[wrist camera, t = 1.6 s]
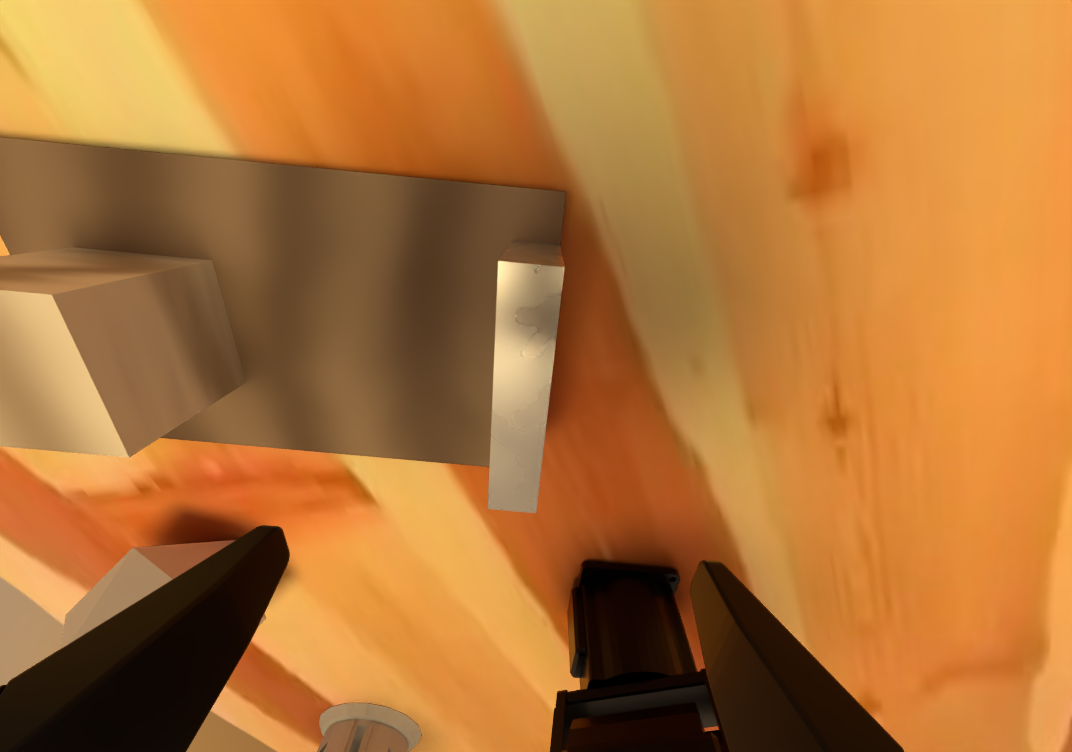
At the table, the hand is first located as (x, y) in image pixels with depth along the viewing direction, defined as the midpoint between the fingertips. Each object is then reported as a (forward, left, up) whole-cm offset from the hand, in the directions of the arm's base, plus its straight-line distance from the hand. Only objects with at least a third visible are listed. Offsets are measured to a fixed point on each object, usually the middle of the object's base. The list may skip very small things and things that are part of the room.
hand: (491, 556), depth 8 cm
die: (+20, +18, -12) cm, 29 cm away
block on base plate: (+11, 0, -12) cm, 16 cm away
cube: (+17, 0, -11) cm, 20 cm away
